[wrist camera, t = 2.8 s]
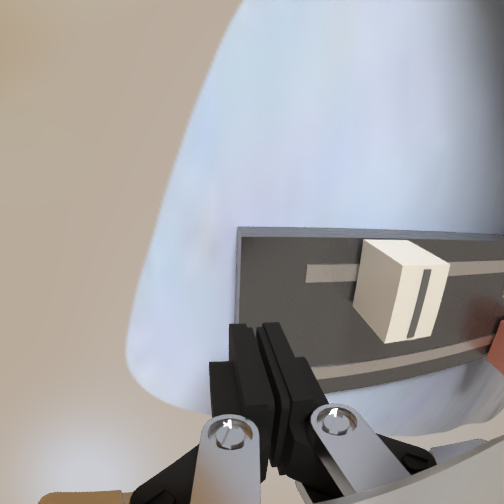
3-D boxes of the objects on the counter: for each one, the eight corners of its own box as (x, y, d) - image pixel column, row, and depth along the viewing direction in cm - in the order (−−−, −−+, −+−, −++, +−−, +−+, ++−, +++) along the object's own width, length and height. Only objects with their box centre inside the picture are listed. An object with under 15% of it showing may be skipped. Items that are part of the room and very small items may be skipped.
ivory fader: (363, 239, 17) (404, 266, 13) (407, 239, 17) (451, 265, 13) (352, 306, 18) (385, 344, 14) (394, 302, 18) (431, 337, 15)
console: (237, 226, 18) (241, 237, 16) (548, 237, 23) (563, 244, 20) (233, 382, 21) (236, 403, 19) (520, 331, 26) (532, 340, 24)
